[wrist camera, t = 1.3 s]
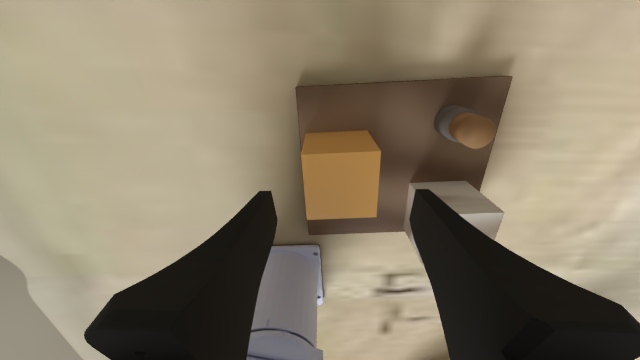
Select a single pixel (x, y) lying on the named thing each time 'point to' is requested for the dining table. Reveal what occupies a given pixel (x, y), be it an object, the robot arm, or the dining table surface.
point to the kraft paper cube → (340, 175)
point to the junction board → (414, 144)
